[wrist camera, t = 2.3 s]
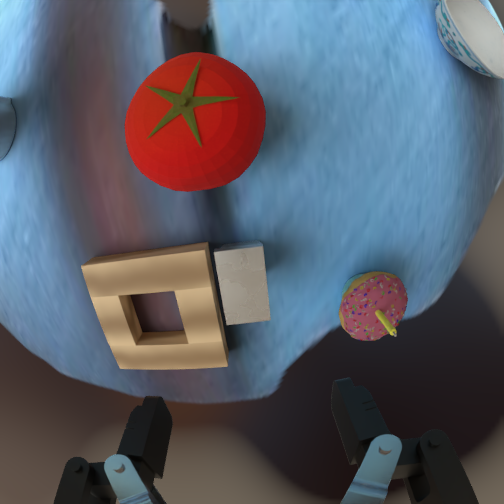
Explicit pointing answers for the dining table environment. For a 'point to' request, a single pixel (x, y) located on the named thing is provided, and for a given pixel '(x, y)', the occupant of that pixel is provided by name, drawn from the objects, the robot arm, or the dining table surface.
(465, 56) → the chinaware
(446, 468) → the robot arm
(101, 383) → the dining table surface
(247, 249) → the grey stepped wood block
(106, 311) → the well block
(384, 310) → the cupcake
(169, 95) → the tomato
